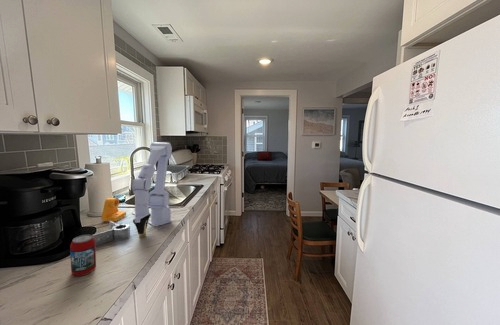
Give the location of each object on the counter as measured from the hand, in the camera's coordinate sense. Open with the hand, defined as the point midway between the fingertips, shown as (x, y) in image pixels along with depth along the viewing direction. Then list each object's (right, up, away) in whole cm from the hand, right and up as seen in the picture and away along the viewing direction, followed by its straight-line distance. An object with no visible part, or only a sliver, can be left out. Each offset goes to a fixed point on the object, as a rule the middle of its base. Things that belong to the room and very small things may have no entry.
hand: (142, 231), depth 100 cm
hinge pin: (0, -2, 0) cm, 2 cm away
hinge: (-14, -2, -2) cm, 15 cm away
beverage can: (-7, -5, -26) cm, 28 cm away
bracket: (-25, 0, +20) cm, 32 cm away
